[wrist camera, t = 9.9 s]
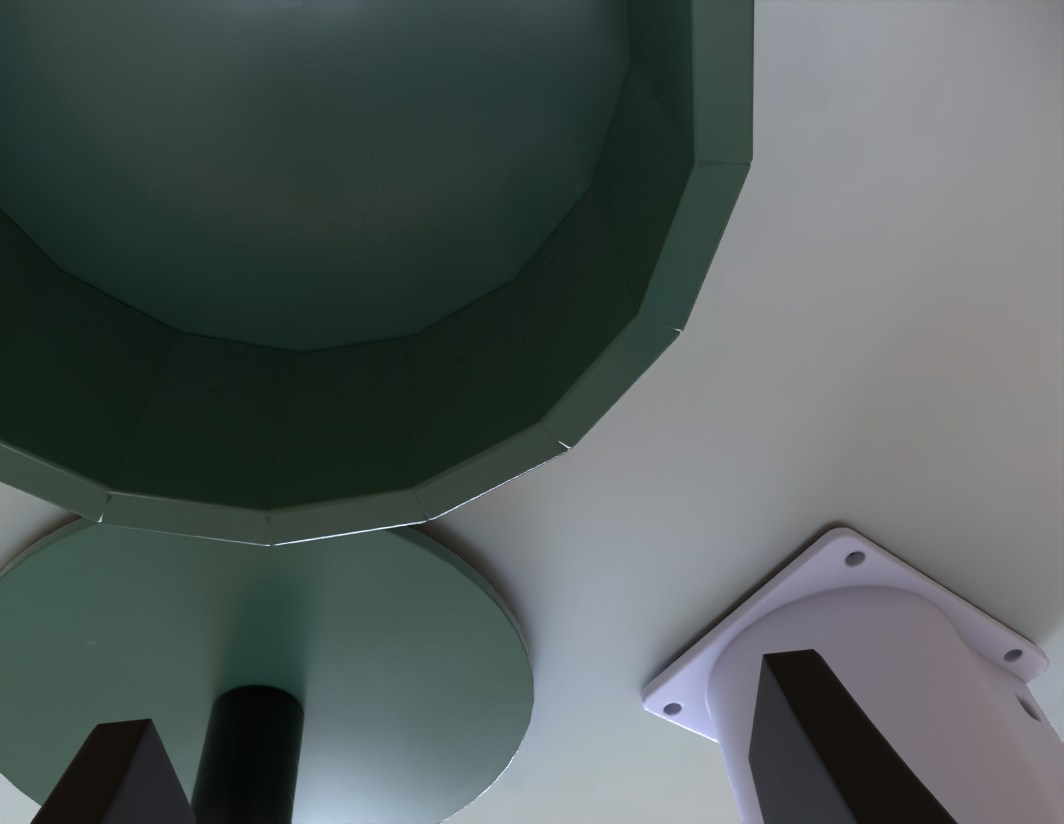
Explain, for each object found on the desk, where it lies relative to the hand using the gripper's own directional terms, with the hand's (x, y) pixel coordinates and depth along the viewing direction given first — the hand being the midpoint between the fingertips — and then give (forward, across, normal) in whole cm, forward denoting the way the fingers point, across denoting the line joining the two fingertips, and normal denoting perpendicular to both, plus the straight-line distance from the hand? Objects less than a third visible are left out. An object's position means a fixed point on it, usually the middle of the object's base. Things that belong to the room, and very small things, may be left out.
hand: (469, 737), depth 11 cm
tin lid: (+10, +6, +11) cm, 16 cm away
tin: (+10, +2, -6) cm, 12 cm away
